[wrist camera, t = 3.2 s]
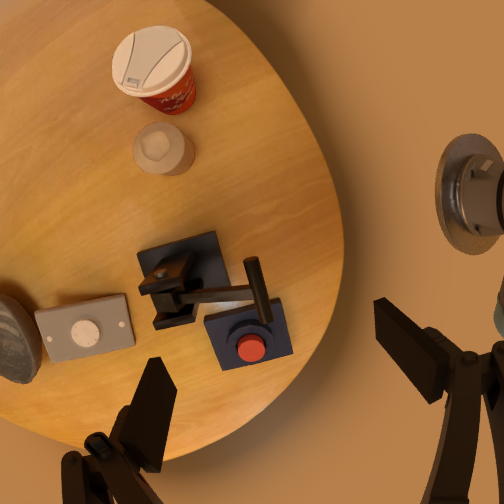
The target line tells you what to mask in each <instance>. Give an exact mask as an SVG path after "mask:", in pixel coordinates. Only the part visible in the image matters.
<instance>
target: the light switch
mask: <svg viewBox="0 0 504 504" xmlns="http://www.w3.org/2000/svg"><path fill="white" fill-rule="evenodd" d="M34 315H35V318H36V321H37V324H38V328H39V331H40V334H41V336H42V339H43V342H44V345H45V348H46V350H47V353H48V355H49V358H50V361H51V362H52V363H57V362H63V361H68V360H73V359H78V358H83V357H88V356H93V355H97V354H102V353H107V352H111V351H116V350H120V349H124V348H129V347H133V346H135V340H134V336H133V332H132V327H131V323H130V318H129V314H128V309H127V304H126V299H125V295H124V294H118V295H113V296H108V297H103V298H98V299H93V300H88V301H83V302H77V303H72V304H67V305H62V306H57V307H51V308H46V309H41V310H36V311H35V314H34ZM99 333H100V334H99Z"/></svg>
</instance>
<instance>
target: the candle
mask: <svg viewBox="0 0 504 504" xmlns="http://www.w3.org/2000/svg"><path fill="white" fill-rule="evenodd" d="M133 156H134V160H135V162H136V164H137V165H138V166H139V167H140V168H141V169H142V170H143V171H145V172H147V173H150V174H156V175H179V174H181V173H183V172H185V171H186V170H187V169H188V168H189V167H190V166H191V165H192V163H193V160H194V156H195V150H194V146H193V144H192V142H191V141H190V140H189V139H188V138H187V137H186V136H185V135H184V134H183V133H182V132H181V131H180V130H179V129H178V128H177V127H175V126H174V125H172V124H170V123H167V122H154V123H151V124H149V125H147V126H146V127H144V128H143V129H142V130H141V131H140V132H139V133H138V135H137V136H136V138H135V141H134V144H133Z"/></svg>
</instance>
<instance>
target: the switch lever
mask: <svg viewBox="0 0 504 504" xmlns="http://www.w3.org/2000/svg"><path fill="white" fill-rule="evenodd" d="M243 263H244V267H245V271H246V274H247V278H248V281H249V285H239V286H228V287H217V288H206V289H194V290H185V288H184V285H183V284H182V286H179V287H175V288H171V289H167V290H163V291H159V292H155V293H151V294H150V296H151V298H152V301H153V303H154V306H155V308H156V311H157V313H175V312H178V311H180V310H181V309H182V308H183V307H184V306H185V305H186V304H194V303H212V302H228V301H242V300H254V303H255V306H256V310H257V313H258V317H259V320H260V323H261V324H269V323H271V322H273V321H274V316H273V312H272V308H271V304H270V300H269V296H268V293H267V289H266V285H265V281H264V277H263V273H262V269H261V266H260V262H259V258H258V257H257V256H252V257H248V258H246V259H244V260H243Z"/></svg>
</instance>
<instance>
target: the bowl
mask: <svg viewBox="0 0 504 504" xmlns="http://www.w3.org/2000/svg"><path fill="white" fill-rule="evenodd" d="M41 362H42V345H41V339H40V336H39V333H38V331H37V329H36V326H35V324H34V323H33V321H32V319H31V317H30V316H29V314H28V313H27V312H26V310H25V309H24V308H23V307H22V306H21V305H20V304H19V303H18V302H17V301H16V300H15V299H13V298H11V297H8V296H6V295H3V294H0V375H1V376H3V377H5V378H7V379H8V380H10V381H13V382H15V383H21V384H28V383H30V382H31V381H32V380H33V378H34V377H35V376H36V374H37V372H38V370H39V368H40V366H41Z"/></svg>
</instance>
